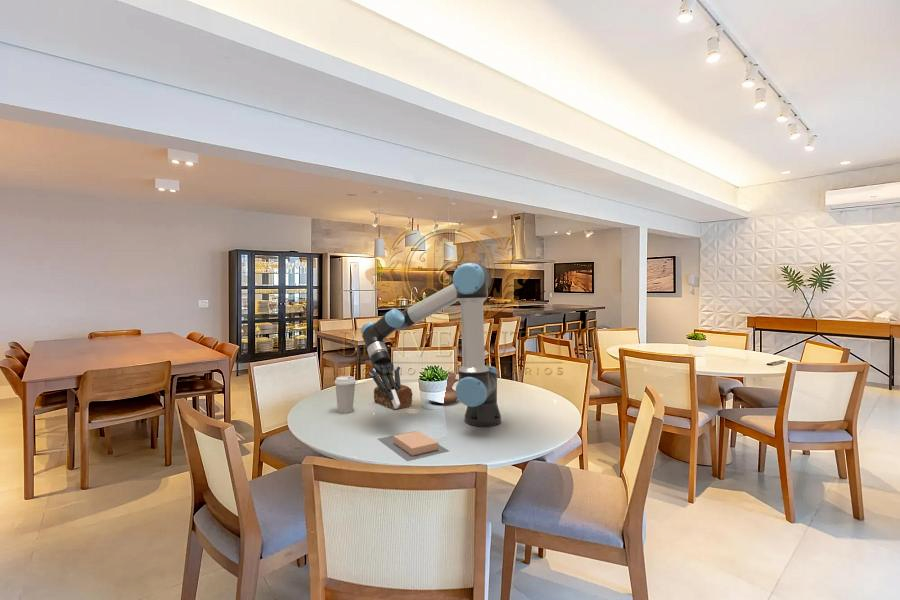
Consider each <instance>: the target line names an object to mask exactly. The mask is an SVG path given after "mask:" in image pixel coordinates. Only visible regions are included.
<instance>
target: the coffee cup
mask: <svg viewBox="0 0 900 600" xmlns="http://www.w3.org/2000/svg"><path fill="white" fill-rule="evenodd" d="M355 378H356V377H354V376H351V375H344V376H343V375H341V376H338V377H336V378H335V380H334V383H333V384H335V385H334V386H335V393H336V395H335V396H336V406H337V412H338V413H339V412H340V414H348V413H349V412H350V413H352V412H353V411H354V401H355V400H354V399H355V388H356V383H357V380H356V379H355Z"/></svg>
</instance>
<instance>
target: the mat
mask: <svg viewBox="0 0 900 600" xmlns="http://www.w3.org/2000/svg"><path fill="white" fill-rule="evenodd" d="M411 432H412V431H410V432H408V433H411ZM413 432H416V430H415V431H413ZM405 433H406V432H404V433H403V434H405ZM400 434H401V433H400ZM400 434H399V433H398V435H400ZM395 435H396V434H395ZM395 435H390V436H385V437H384V436H383V437H379V438H377V440H378V441H379V442H380V443H382V444H383V445H385V446H386V447H387V448H388V449H390V450H391V451H392V452H394V453H395V454H397V455H398V456H400V457H401V458H402V459H403V460H405V461H406V462H410V461H411V462H412V461H414V460H419V459H423V458H427V457H430V456H435V455H439V454H440V455H441V454H444V453H447V452H450V450H449V449H447V448H446V447H444V446H442V445H440V444H439V443H438V450H434V451H430V452H426V453H421V454H417V455H413V456H412V455H410V454H409V453H408V452H406V451H405V450H403V449H402V448H400V447H399V446H398V445H396V444H395V443H393V436H395Z"/></svg>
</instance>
